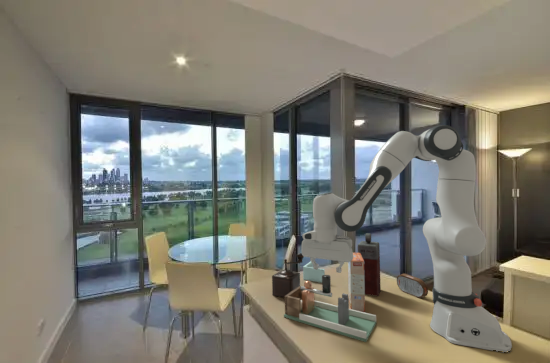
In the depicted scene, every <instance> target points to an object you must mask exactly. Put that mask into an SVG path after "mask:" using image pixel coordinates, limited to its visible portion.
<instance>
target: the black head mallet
mask: <svg viewBox="0 0 550 363" xmlns="http://www.w3.org/2000/svg"><path fill="white" fill-rule="evenodd" d="M331 282H332V281H331V275H330V274H325V275H322V283H321V288H322V289H317V288H315V287H313V283H312V281H309V280H304V282H303V283H304V284H303V286H302V285H300V286H301V290H302V313H304V314H307V315H308V314H309V313H310V312H311V311H312V310H314V301H315V295H320V296H324V297H328V298H332V297H333V293H332V289H331V286H332V284H331Z"/></svg>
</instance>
